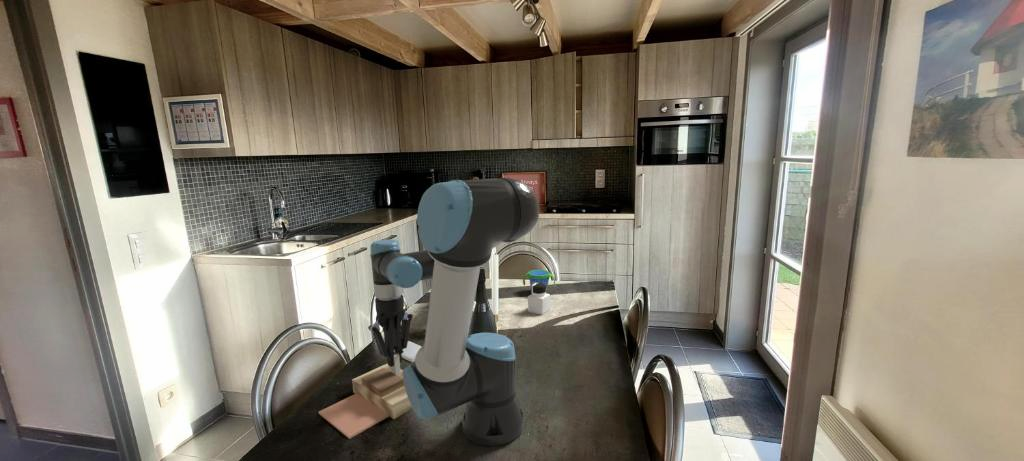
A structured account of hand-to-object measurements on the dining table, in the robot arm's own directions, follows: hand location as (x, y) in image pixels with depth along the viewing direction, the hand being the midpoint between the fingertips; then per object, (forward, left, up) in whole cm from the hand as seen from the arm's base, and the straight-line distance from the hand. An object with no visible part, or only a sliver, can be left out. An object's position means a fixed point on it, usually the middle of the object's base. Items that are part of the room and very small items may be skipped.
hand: (395, 374), depth 116 cm
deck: (0, +2, -5) cm, 6 cm away
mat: (0, +14, -5) cm, 14 cm away
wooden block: (0, +4, -1) cm, 4 cm away
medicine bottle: (+4, -74, -6) cm, 74 cm away
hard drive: (+17, -17, -6) cm, 25 cm away
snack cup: (+18, -93, -6) cm, 95 cm away
